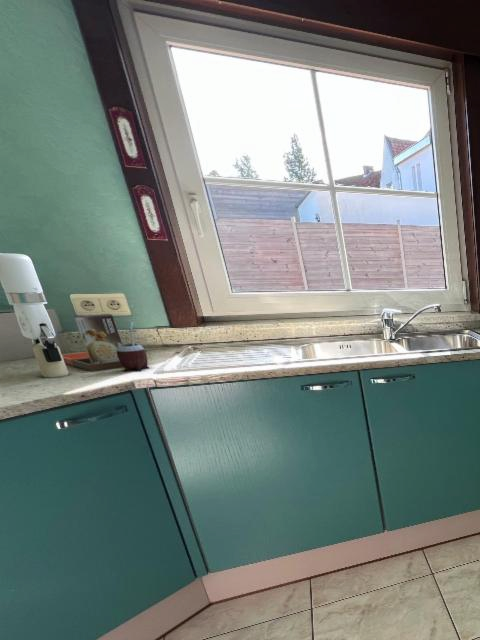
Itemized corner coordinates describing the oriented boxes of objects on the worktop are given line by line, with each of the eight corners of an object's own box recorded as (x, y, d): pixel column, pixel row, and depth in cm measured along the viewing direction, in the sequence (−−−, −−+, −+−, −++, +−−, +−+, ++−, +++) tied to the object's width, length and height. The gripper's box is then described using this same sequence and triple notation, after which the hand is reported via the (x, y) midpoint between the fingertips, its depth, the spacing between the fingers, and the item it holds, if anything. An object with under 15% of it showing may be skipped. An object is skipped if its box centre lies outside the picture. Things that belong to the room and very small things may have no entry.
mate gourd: (126, 372, 157) (111, 325, 152) (118, 369, 161) (102, 322, 156) (155, 369, 163) (141, 323, 158) (146, 365, 167) (132, 320, 162)
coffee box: (127, 360, 171) (111, 313, 165) (129, 363, 167) (113, 315, 161) (90, 363, 165) (73, 314, 159) (92, 367, 161) (74, 316, 155)
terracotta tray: (72, 365, 164) (70, 359, 163) (59, 361, 169) (56, 355, 168) (126, 358, 176) (124, 353, 175) (112, 355, 181) (110, 349, 180)
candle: (71, 375, 152) (59, 342, 149) (46, 378, 148) (33, 345, 144) (65, 372, 155) (53, 340, 151) (40, 375, 151) (27, 343, 147)
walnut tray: (91, 371, 158) (89, 364, 157) (74, 366, 163) (72, 359, 163) (146, 364, 169) (144, 358, 169) (128, 359, 175) (126, 353, 174)
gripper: (-3, 297, 144) (22, 358, 150) (19, 301, 136) (44, 365, 143) (34, 296, 150) (56, 355, 157) (56, 300, 143) (78, 361, 149)
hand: (50, 359), depth 150 cm, fingers closed on candle, 5 cm apart
